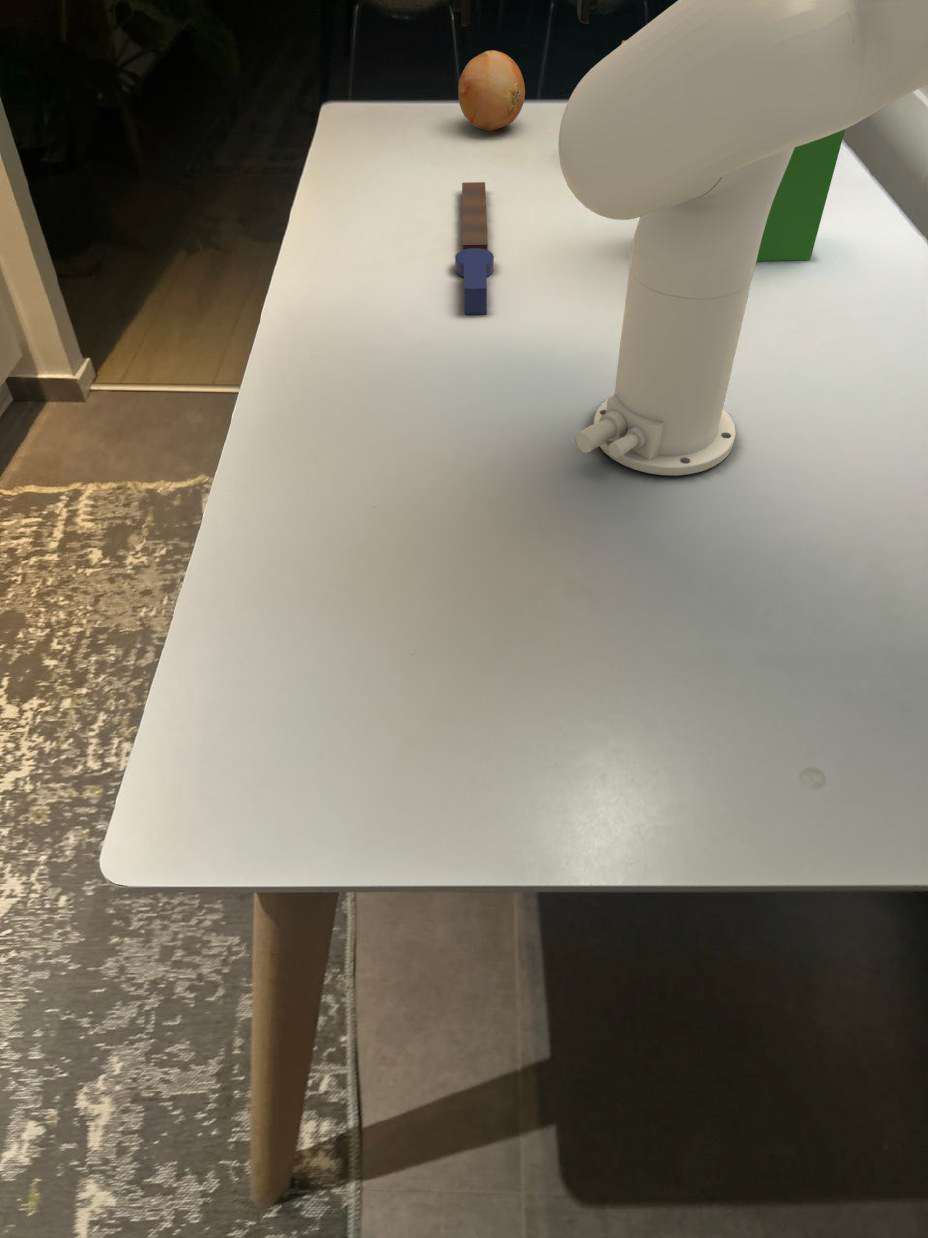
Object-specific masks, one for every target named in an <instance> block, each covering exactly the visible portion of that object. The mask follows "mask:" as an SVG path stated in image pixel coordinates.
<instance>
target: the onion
mask: <svg viewBox="0 0 928 1238" xmlns="http://www.w3.org/2000/svg"><path fill="white" fill-rule="evenodd" d="M457 93H458V97H457V98H458V103H459V104H458V105H459V107H460V110H461V113H462V114H463V116H464V117H465V118H466V120H468V121H469V122H470V124H472V125H473V126H474V127H475V128H478V129H481V130H484V131H490V132H492V131H496V130H498V129H499V130H500V129H501V128H503V127H506V126H508V125H510V124H512V123H513V122H514V121H515V120H516V119H517V118H518V116H519V114H520V113H521V112H522V108H523V107H524V104H525V103H524V102H525V96H526V87H525V82H524V78H523V74H522V71H521V69H520V67H519V65H518V64H517V63H516V62H515V60H514V59H512V58H511V57H510V55H508V54H506V53H504V52H502V51H498V50H493V49H492V50H486V51H484V52H482V53H479V54H478V55H477V56H475V57H473V58H472V59H470V60H469V61H468V63H467V64H466V65H465V67H464V69H463V71H462V73H461V75H460V77H459V80H458V91H457Z"/></svg>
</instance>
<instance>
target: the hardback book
mask: <svg viewBox="0 0 928 1238" xmlns="http://www.w3.org/2000/svg"><path fill="white" fill-rule="evenodd" d="M845 131H846V129H844V130H842V131H839V132H837V133H834V134H832V135H829V136H826V137H824V138H821V139H818V140H815V141H812V142H810V143H807V144H804V145H801V146H798V147H795V148H794V151H793V153H792V156H791V158H790V161H789V163H788V166H787V168H786V170H785V173H784V175H783V178H782V180H781V182H780V185H779V187H778V190H777V192H776V195H775V197H774V200H773V203H772V206H771V209H770V212H769V215H768V218H767V221H766V225H765V229H764V232H763V236H762V240H761V244H760V248H759V252H758V256H757V261H756V262H774V261H775V262H778V261H781V262H782V261H810V260H811V258H812V256H813V251H814V247H815V243H816V239H817V236H818V232H819V229H820V225H821V222H822V217H823V214H824V210H825V207H826V202H827V199H828V196H829V191H830V187H831V184H832V180H833V177H834V172H835V169H836V165H837V163H838V162H837V161H838V157H839V154H840V150H841V147H842V143H843V138H844V135H845Z"/></svg>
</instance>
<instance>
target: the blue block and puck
mask: <svg viewBox="0 0 928 1238" xmlns="http://www.w3.org/2000/svg"><path fill="white" fill-rule="evenodd" d="M494 256H495V255H494V254H493V253H492V251H490V250H489V249H488V250H485V249H480V248H469V249H465V250H462V249H461V250H460V251H458V252H457V253H456V254H455V256H454V264H455V273H456V274H457V275H458V276H460V278H463V306H464V310H463V311H464V315H487V314H488V287H487V286H488V285H487V282H488V281H487V277H489V276H491V275H492V274H493V272H494V270H495V260H494V259H495V257H494Z"/></svg>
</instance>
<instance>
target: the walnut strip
mask: <svg viewBox="0 0 928 1238" xmlns="http://www.w3.org/2000/svg"><path fill="white" fill-rule="evenodd" d="M486 193H487V192H486V182H485V181H482V182H481V181H477V182H475V181H474V182H473V181H472V182H471V181H470V182H469V181H468V182H467V181H466V182H462V183H461V237H462V238H461V242H462V243H461V251H462V250H465V249H469V248H480V249H485V250H488V251H489V240H488V239H489V237H488V216H487V215H488V214H487V194H486Z"/></svg>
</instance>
